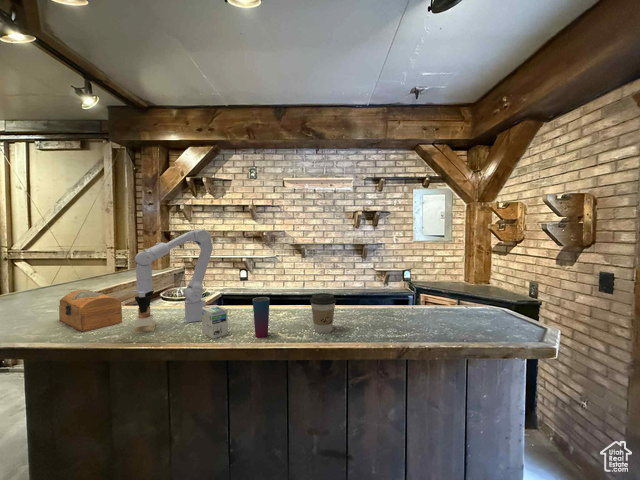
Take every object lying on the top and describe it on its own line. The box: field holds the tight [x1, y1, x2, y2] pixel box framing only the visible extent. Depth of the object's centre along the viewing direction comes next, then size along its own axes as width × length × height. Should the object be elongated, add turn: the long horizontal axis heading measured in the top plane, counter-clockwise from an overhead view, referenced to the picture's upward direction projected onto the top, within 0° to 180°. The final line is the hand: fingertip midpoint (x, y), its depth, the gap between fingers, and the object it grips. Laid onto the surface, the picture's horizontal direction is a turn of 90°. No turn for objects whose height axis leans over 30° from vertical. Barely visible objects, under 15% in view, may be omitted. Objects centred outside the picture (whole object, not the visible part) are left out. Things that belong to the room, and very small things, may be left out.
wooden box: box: [58, 289, 123, 333], centre depth 128 cm, size 30×16×14 cm, turn 56°
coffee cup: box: [309, 292, 337, 334], centre depth 114 cm, size 11×11×15 cm
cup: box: [252, 296, 271, 339], centre depth 109 cm, size 7×7×15 cm
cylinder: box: [137, 305, 151, 318], centre depth 117 cm, size 4×4×4 cm
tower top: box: [134, 313, 154, 327], centre depth 117 cm, size 6×6×3 cm
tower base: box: [133, 319, 156, 334], centre depth 117 cm, size 7×7×3 cm
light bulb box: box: [201, 304, 229, 340], centre depth 112 cm, size 11×7×11 cm, turn 45°
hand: (145, 310), depth 117 cm, fingers open, 7 cm apart
